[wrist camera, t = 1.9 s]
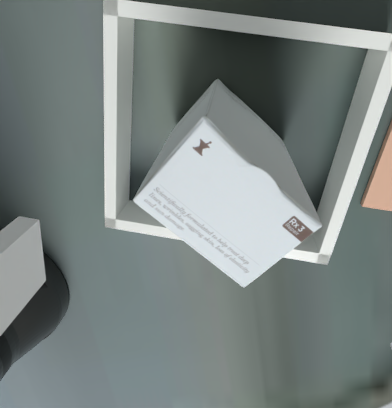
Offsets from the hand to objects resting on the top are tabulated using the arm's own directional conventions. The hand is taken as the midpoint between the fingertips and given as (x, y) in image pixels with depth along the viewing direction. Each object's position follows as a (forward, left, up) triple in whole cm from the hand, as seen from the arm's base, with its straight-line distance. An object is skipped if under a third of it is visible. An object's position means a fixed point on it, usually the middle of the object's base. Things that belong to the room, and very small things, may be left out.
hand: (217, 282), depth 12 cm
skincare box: (0, 0, -20) cm, 20 cm away
